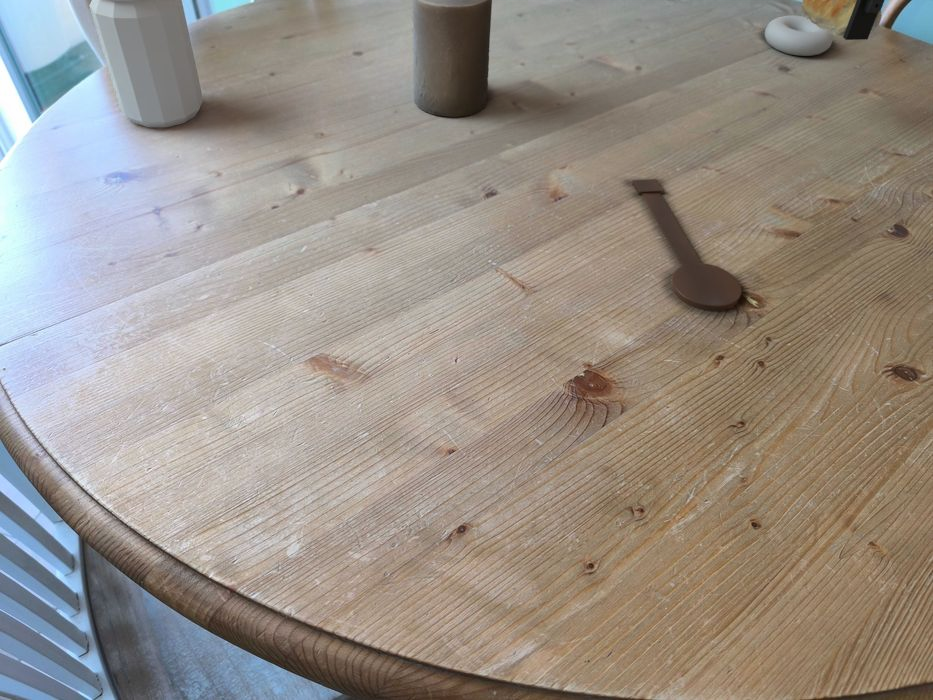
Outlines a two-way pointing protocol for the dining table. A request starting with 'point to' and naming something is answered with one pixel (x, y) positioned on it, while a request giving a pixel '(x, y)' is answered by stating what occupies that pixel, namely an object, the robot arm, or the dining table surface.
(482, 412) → the dining table surface
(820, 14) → the pastry
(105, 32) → the jar
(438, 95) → the pillar candle
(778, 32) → the donut
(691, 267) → the spoon
